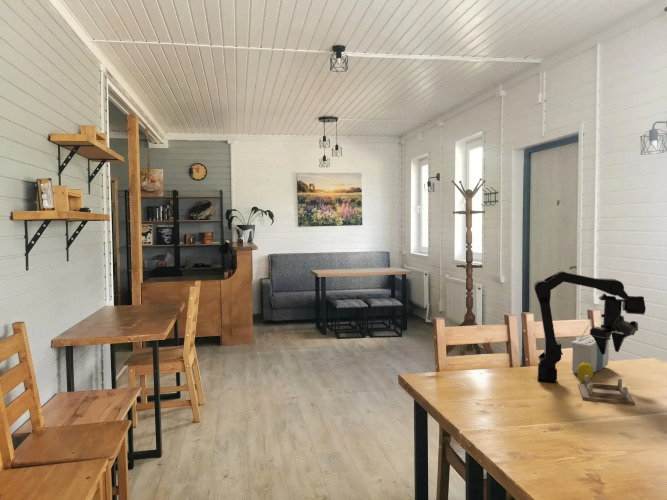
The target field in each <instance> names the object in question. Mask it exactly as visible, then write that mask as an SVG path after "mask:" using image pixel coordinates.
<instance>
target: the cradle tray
mask: <svg viewBox="0 0 667 500" xmlns="http://www.w3.org/2000/svg"><path fill="white" fill-rule="evenodd" d="M577 386H578V390H579V392H580V395H581V399H582V401H590V402H591V401H592V402H601V403H609V404H619V405H628V406H629V405H630V406H636V402H635V400H634V399H633V397H632V395H631V393H630V392H629V389H628V387H627V386H623V378H619V377H618V378H617V384H611V383H609V384H607V383H597V382H590V380H589V376H588V375H585V382H584V383H578V384H577Z"/></svg>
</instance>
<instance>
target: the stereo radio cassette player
mask: <svg viewBox="0 0 667 500" xmlns="http://www.w3.org/2000/svg"><path fill="white" fill-rule="evenodd" d="M592 322H593V320H590V322H589V324H588V325H587V326H586V328H585V330H584V331H583V333H582V335H581V336H580V337H579V339H576V340H572V341H571V342H570V346H571V347H572V357H571V359H572V362H571V365H572V368H571V369H572V373H574V374H577V375H578V373H577V370H578V366H579V365H580V364H581V363H583V362H587V363H589V364H590V365H591V366H592V368H593V374H594V373H596V372H598V371H600V370H601V369H604V368H605V367H607V366H609V365H608V364H609V359H610V358H609V357H610V356H609V354H610V350H609V347H610V346H609V345H610V344H609V343H610V342H609V341H610V340H608V341H607V346H606V352H605V355H603V354H601V352H600V350H599V347H598V345H597V343H596V341H595V339H594V338H593V337H592V335H590V334H589V335H587V336H584V335H585V334H586V332H587V330H589V327H590V326H591V324H592Z"/></svg>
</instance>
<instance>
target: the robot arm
mask: <svg viewBox="0 0 667 500" xmlns="http://www.w3.org/2000/svg"><path fill="white" fill-rule="evenodd" d="M562 283H568V284H572V285H576V286H577V285H578V286H582V287H583V286H584V287H587V288H593V289H596V290H598V291H601V292H604V293H603V294H601V295H600V296H599V297H598V299H599V300H600V301H604V304H603V307H604V308H603V313H602V314H601V318H603V321H602V322H603V323H602V324H601V325H600V327H599V326H595V327H591V328H590V329H589V335H592V337H593V338H594V339H595V341H596V343H597V345H598V347H599V350H600V352H601V354H603V355H605V352H606V346H607V341H610V340H611V339H612V342H613V348H614V351H615V352H616V353H619V352H620V349H621V346H622V345H623V342H624V341H625V339H627V338H628V337H630V336H635V334H636V332H637V331H639V322H637V321H635V320H631V321H630V322H629V321H627V320H625V317H624V315H622V311H625V314H630V315H641V316H643V315H645V314H646V303H645V297H644V296H642V295H637V296H635V295H628V293H627V292H626V291H625V286H624V284H623V283H622V281H620V280H617V279H615V278H599V277H598V278H595V277H591V276H586V275H581V274H577V273H576V274H575V273H571V272H566V271H564V270H560V271H557V272H556V273H554V274H553V275H550V276H548V277H546V278H545V279H538V280H537V281H535V282H534V284H533V290H534V292H535V296H536V298H537V301H538V304H539V310H540V315H541V316H540V317H541V322H542V329H543V335H544V343H543V352H542V353H540V354H539V355H538V356H537V358H538V363H537V377H536V378H537V382H540V383H541V382H542V383H552V384H556V383H557V380H558V369H557V368H556V366H557V365H556V364H557V363H559V362H560V361H561V360H562V356H564V353H563V351H562V343H561V341H560V340H556V335H555V328H554V322H553V317H552V310H551V309H552V308H551V291H552V290H553V289H555V288H557V287H558V286H559V285H561V284H562ZM606 293H607V294H609V295H607V294H606ZM616 296H618V297H619V298H617V297H616Z"/></svg>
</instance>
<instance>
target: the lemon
mask: <svg viewBox="0 0 667 500" xmlns="http://www.w3.org/2000/svg"><path fill="white" fill-rule="evenodd" d="M577 373H578V374H577ZM577 373H576V374H577V376H578V378H579V379H580V380H582V381H583V382H584V383H585V375H588V376H589V381H590V380H591V379H592V378H593V376H594V373H593V368H592V366H591V365H590V364H589V363H587V362H583V363H581V364H580V365H579V366H578V370H577Z"/></svg>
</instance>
